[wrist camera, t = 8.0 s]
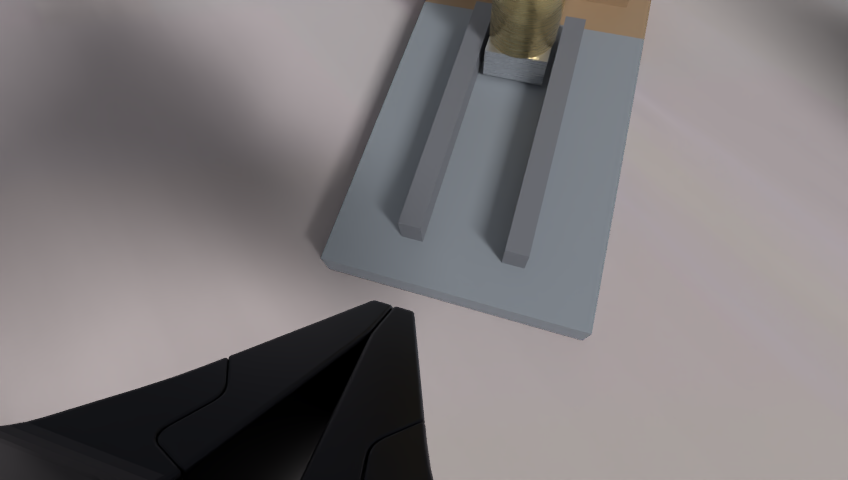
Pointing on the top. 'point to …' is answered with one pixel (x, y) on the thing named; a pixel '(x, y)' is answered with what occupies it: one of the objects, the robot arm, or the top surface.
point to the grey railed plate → (497, 168)
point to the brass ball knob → (521, 38)
